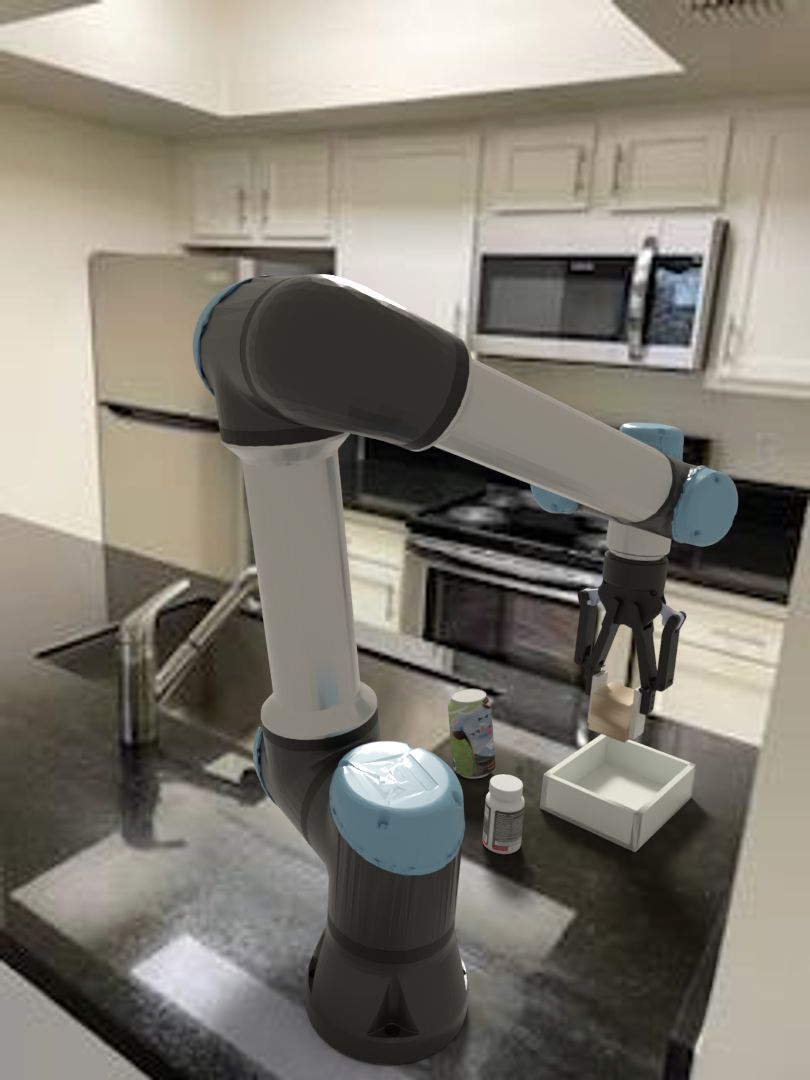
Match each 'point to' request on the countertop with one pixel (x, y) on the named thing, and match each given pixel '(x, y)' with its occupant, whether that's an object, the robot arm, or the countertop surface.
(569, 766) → the tote
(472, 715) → the beverage can
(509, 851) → the pill bottle
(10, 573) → the countertop surface
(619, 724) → the cube
